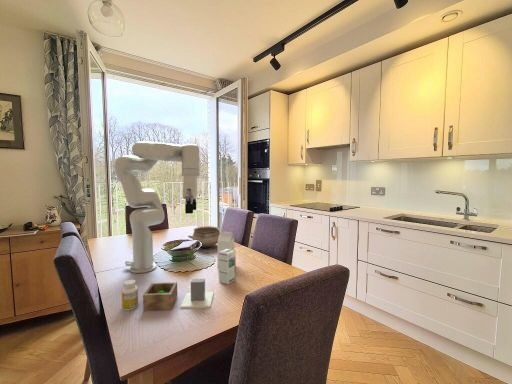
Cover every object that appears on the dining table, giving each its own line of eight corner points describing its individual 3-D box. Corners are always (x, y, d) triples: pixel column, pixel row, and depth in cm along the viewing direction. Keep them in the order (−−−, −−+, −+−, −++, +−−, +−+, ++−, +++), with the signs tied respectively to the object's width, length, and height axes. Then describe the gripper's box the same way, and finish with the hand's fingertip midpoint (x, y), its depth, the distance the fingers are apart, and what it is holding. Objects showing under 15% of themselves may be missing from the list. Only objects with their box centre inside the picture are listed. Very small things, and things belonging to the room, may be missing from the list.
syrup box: (228, 284, 111) (228, 253, 110) (218, 281, 115) (218, 251, 113) (235, 280, 116) (236, 250, 115) (226, 277, 119) (226, 248, 118)
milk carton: (230, 269, 129) (230, 234, 128) (217, 268, 130) (217, 233, 129) (234, 264, 136) (234, 230, 134) (221, 263, 137) (221, 230, 136)
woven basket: (220, 241, 182) (220, 225, 181) (228, 248, 165) (228, 230, 164) (185, 245, 172) (185, 227, 171) (190, 253, 155) (190, 234, 154)
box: (143, 311, 90) (142, 295, 89) (152, 297, 100) (151, 282, 99) (171, 309, 91) (171, 294, 90) (177, 296, 101) (177, 282, 100)
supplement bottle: (126, 303, 95) (125, 279, 94) (140, 303, 95) (140, 278, 94) (119, 311, 89) (118, 285, 89) (135, 310, 90) (134, 285, 89)
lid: (180, 309, 92) (180, 287, 91) (187, 294, 103) (187, 274, 102) (210, 308, 92) (210, 286, 92) (213, 294, 103) (213, 274, 103)
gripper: (185, 172, 116) (186, 208, 118) (177, 172, 99) (178, 214, 100) (201, 173, 117) (202, 208, 118) (196, 173, 100) (196, 214, 101)
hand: (191, 211), depth 109 cm, fingers open, 9 cm apart
